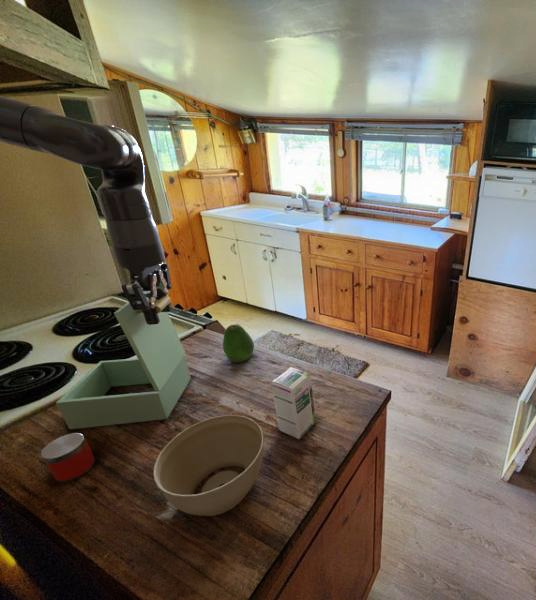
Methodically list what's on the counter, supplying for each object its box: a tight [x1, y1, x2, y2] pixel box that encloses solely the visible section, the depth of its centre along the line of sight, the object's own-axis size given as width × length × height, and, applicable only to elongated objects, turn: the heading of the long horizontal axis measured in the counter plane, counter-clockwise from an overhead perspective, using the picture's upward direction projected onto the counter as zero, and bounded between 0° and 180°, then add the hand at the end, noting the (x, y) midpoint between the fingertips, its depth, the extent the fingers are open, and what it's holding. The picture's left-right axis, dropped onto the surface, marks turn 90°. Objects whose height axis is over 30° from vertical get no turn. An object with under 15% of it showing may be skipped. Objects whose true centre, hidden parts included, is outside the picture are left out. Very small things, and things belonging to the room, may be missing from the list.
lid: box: [113, 291, 186, 392], centre depth 72 cm, size 19×15×5 cm
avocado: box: [222, 323, 255, 363], centre depth 93 cm, size 8×8×12 cm
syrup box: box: [270, 366, 317, 440], centre depth 70 cm, size 6×6×14 cm
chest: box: [55, 354, 192, 430], centre depth 76 cm, size 19×15×8 cm
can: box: [40, 432, 96, 483], centre depth 60 cm, size 6×6×7 cm
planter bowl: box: [152, 414, 265, 517], centre depth 57 cm, size 16×16×11 cm
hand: (159, 317), depth 70 cm, fingers closed on lid, 5 cm apart
